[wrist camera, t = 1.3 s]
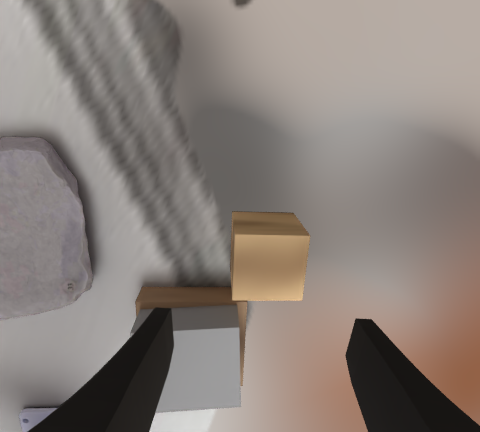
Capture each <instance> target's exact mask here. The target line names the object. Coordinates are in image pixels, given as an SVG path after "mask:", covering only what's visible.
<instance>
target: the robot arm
mask: <svg viewBox="0 0 480 432" xmlns="http://www.w3.org/2000/svg"><path fill="white" fill-rule="evenodd" d="M173 349H174V336H173V323H172V310H171V308H160V307H156V308H154V309H153V311H152V312H151V313H150V314H149V316H148V317H147V318H146V319H145V321H144V322H143V323H142V324H141V326H140V327H139V328H138V329H137V330H136V332H135V333H134V334H133V335H132V336H131V337H130V339H129V340H128V341H127V342H126V343H125V344H124V345H123V346H122V348H121V349H120V350H119V351H118V352H117V353H116V354H115V355H114V356H113V357H112V358H111V359H110V360H109V361H108V362H107V363H106V364H105V365H104V366H103V367H102V369H101V370H100V371H99V372H98V373H97V374H95V375H94V376H93V377H92V378H91V379H90V380H89V381H88V382H87V383H86V384H85V385H84V386H83V387H82V388H80V389H79V390H78V391H77V392H76V393H75V394H74V395H73V396H71V397H70V398H69V399H68V400H67V401H65V402H64V403H63V404H62V405H61V406H59V407H58V408H26V409H23V410H22V411H21V412H20V414H19V419H20V423H21V427H22V431H23V432H149V430H150V427H151V424H152V421H153V418H154V415H155V412H156V409H157V406H158V403H159V400H160V397H161V394H162V391H163V388H164V385H165V382H166V378H167V375H168V372H169V368H170V363H171V359H172V354H173ZM346 360H347V365H348V370H349V374H350V378H351V383H352V386H353V389H354V392H355V394H356V398H357V400H358V404H359V406H360V409H361V412H362V415H363V418H364V421H365V424H366V427H367V429H368V432H480V426H479V425H478V424H477V423H476V422H475V421H473V420H472V419H471V418H470V417H469V416H468V415H466V414H465V413H464V412H463V411H462V410H461V409H459V408H458V407H457V406H456V405H455V404H454V403H452V402H451V401H450V400H449V399H448V398H447V397H446V396H445V395H444V394H443V393H441V391H440V390H439V389H437V388H436V387H435V386H434V385H433V384H432V383H431V382H430V381H429V380H428V379H427V378H426V377H425V376H424V375H423V374H422V373H421V372H420V371H419V370H418V369H417V368H416V367H415V366H414V365H413V364H412V363H411V362H410V361H409V360H408V359H407V358H406V357H405V355H403V353H402V352H401V351H400V350H399V349H398V348H397V347H396V346H395V345H394V344H393V342H392V341H391V340H390V339H389V338H388V337H387V336H386V335H385V334H384V333H383V331H382V330H381V329H380V328H379V327H378V326H377V325H376V324H375V323H374V322H373V320H371V319H356V320H355V323H354V327H353V330H352V334H351V338H350V341H349V345H348V349H347V352H346Z"/></svg>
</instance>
